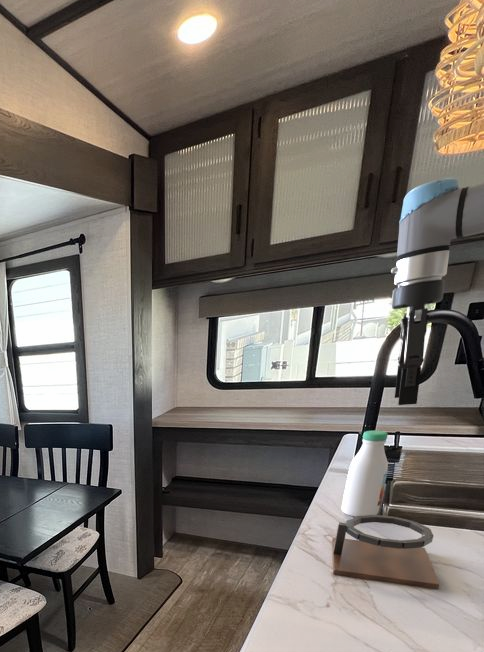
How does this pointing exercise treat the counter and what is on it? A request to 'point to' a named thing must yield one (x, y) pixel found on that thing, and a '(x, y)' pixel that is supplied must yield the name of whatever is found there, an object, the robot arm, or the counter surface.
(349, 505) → the milk bottle
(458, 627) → the counter surface
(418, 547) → the ring holder
